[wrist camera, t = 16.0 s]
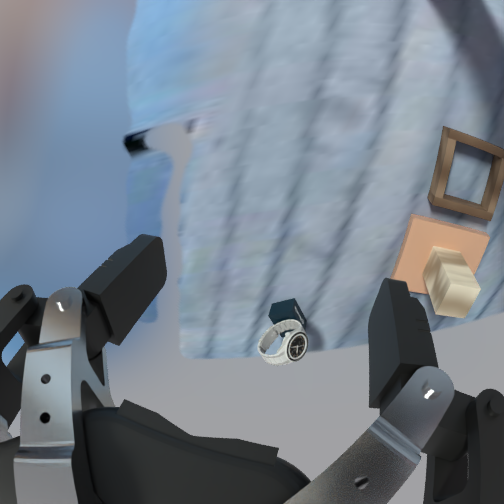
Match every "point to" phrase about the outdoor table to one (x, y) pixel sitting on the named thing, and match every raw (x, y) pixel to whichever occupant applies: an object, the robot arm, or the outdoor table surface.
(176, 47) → the outdoor table surface
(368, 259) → the outdoor table surface
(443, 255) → the ash block
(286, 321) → the watch
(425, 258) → the terracotta tile
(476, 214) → the walnut pocket frame
